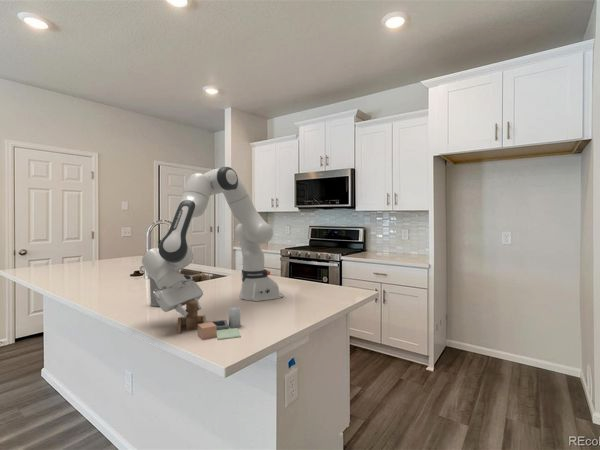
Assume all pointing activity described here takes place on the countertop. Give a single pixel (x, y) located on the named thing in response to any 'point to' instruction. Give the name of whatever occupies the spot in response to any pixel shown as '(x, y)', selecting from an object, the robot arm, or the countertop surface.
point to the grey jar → (234, 317)
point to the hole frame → (221, 324)
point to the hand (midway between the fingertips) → (193, 312)
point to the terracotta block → (207, 330)
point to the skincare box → (152, 289)
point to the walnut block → (192, 315)
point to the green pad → (228, 333)
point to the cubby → (183, 322)
